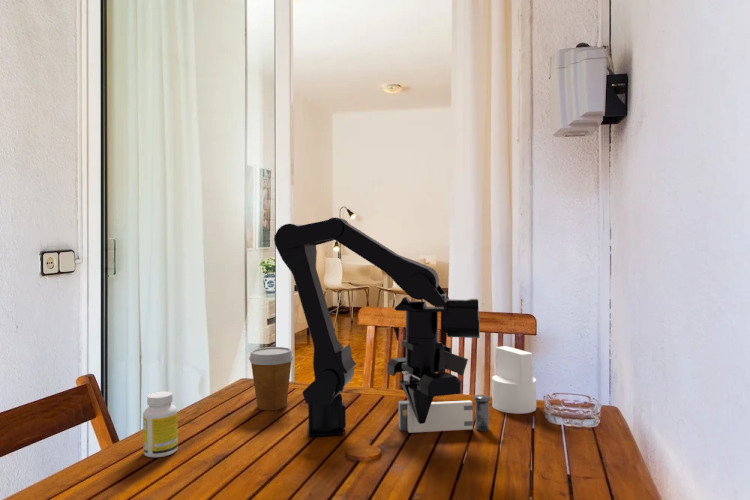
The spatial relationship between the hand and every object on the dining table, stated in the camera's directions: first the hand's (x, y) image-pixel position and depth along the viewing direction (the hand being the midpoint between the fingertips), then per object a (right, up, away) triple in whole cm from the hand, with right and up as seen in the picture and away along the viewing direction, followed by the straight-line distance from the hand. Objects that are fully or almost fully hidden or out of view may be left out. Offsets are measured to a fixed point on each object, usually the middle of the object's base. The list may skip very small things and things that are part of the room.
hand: (421, 423), depth 95 cm
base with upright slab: (+21, -2, +17) cm, 27 cm away
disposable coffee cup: (-31, -3, +20) cm, 37 cm away
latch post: (-2, -3, +5) cm, 6 cm away
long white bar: (+4, -2, +3) cm, 5 cm away
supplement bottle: (-45, -4, -5) cm, 45 cm away
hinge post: (+12, -2, +4) cm, 13 cm away
